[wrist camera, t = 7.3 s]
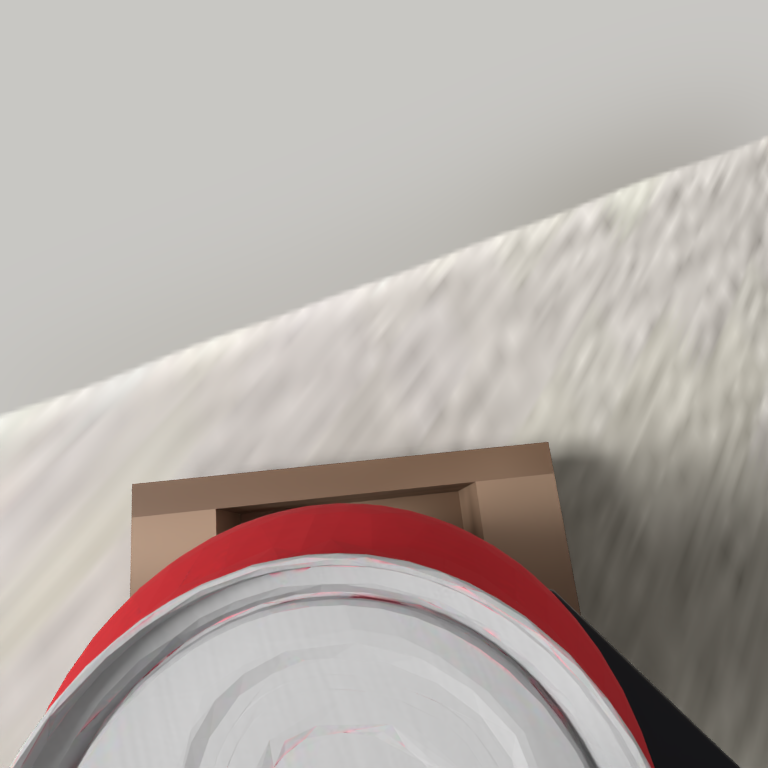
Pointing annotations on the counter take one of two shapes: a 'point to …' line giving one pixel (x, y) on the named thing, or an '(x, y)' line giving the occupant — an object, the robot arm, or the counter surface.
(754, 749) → the counter surface
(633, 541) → the counter surface
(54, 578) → the counter surface
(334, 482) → the walnut caddy
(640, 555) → the counter surface
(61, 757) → the beverage can
